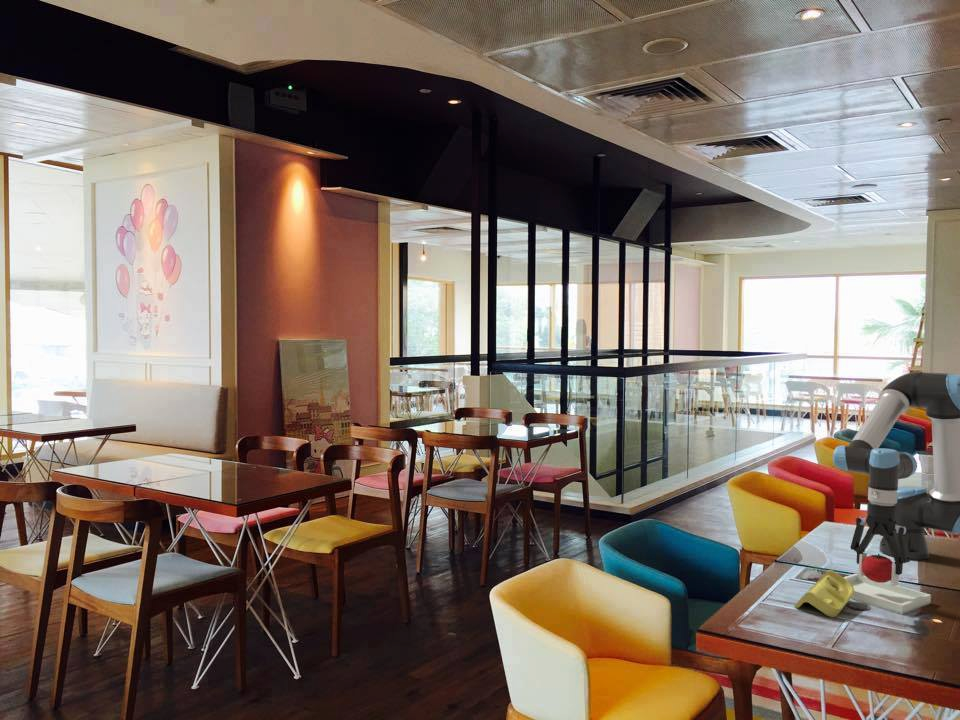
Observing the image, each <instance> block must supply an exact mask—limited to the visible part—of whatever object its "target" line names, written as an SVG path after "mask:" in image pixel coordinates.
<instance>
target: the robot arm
mask: <svg viewBox="0 0 960 720" xmlns="http://www.w3.org/2000/svg"><path fill="white" fill-rule="evenodd" d="M910 408H920V409H925V416H926V417H927V418H928V419H930V421H931V437H932V438H931V439H932V458H933V459H932V460H933V461H932V462H933V483H934V484H933V486H934V487H933V488H931V489H930V490H929V493H928V490H927V488H926V487H923V486H913V485H912V486H911V485H910V486H909V485H908V486H907V485H906V486H905V485H904V486H899V480H901V479H907V478H909V477H911V476H912V475H914V474H915V473H916V471H917V469H918V462H917V459H916V458H915V457H914V455H912V454H911V453H909V452H905V451H898V450H896V449H893V448H884V447H883V448H882V447H880V446H881V445H882V443H883V442H884V440H885V438H887V436H888V434H889V433H890V431H891V429H892V428H893V427H894V425H895V423H896V422H897V421H898V420H899V417H900V416H901V414H904V413H906V412H907V411H908V410H909V409H910ZM832 463H833V466H834V467H835V468H836V469H839V470H843V471H846V472H851V473H860V474H866V475H868V493H867V500H868V502H867V507H866V508H867V509H866V514H867V516H866V517H864V516H860V517H857V518H855V529H854V533H853V537H852V540H851V544H850V547H849V548H850V550H851V551H852V550H853V551H854V552H856V564H857V565H858V574H859V576H860V577H862V576H865V575H864V573H863V571H862V563H863V561H864V559H865V558H866V557H868V553H866V550H867V547H868V546H869V545H870V543H871V541H872V539H874V537H875V535H878V536H881V537H882V538H881V540H880V543H879V552H880V553H882V554H884V555H886V556H890V557H893V559H894V561H892V562H893V563H892V576H891V580H890V581H891V582H890V583H891V586H896V585H898V586H900V585H899V583H900V582H899V580H900V575H903V565H904V564H906V563H909V562H911V560H915V561H920V560H926V559H929V558H930V549H929V545H928V541H927V539H926V538H927V537H926V535H925V530H926V529H930V530H935V531H939V532H946V533H950V534H952V535H954V534H955V535H960V374H955V373H946V372H945V373H943V372H941V373H939V372H922V371H912V372H907V373H905V374H902V375H900V376H899V377H896V378H895V379H893V380H892V381H890V382H888V383H887V385H885V386H884V388H882V390H881V391H880V393H879V395H878V402H877V403H876V404H875V406H874V408H873V409H872V410H871V411H870V413H869V415H868V416H867V417H866V419H865V421H864V422H863V423H862V424H861V427H860V428H859V429H858V431H857V432H856V433H855V435H854V437H853V438H852V440H851V441H850V442H849V444H848V445H847V444H845V445H844V444H843V445H838V446H836V447H835V449H834V451H833V455H832ZM866 525H867V527H868V529H867V531H866V532H865V535H864V537H863V538H862V536H863V534H864V533H863V532H864V530H865V526H866Z"/></svg>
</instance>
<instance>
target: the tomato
mask: <svg viewBox="0 0 960 720" xmlns="http://www.w3.org/2000/svg"><path fill="white" fill-rule="evenodd" d="M893 562H894V561H892V560H891V559H890V558H888V557H886V556H884V555H881V554H880V553H877V554H869V555H867V557H866V558H865V559H864V561H863V563H862V571H863V573H864V575H865V576H866V577H867V578H868V579H870V580H872V581H874V582H878V583H884V582H888V583H889V581H891V576H892V563H893Z"/></svg>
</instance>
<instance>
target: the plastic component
mask: <svg viewBox="0 0 960 720" xmlns="http://www.w3.org/2000/svg"><path fill="white" fill-rule="evenodd" d="M853 593H854V588H853V586H852V585H851V584H850V583H849V582H848V581H847V580H846V579H845V578H843V576H842V575H840V574H839V573H837V572H836V571H834V570H832V569H829V570H826V572H825V573H824V574H823V575H822V576H821V577H820V578H819V579H818V580H817V581H816V583H814V585H813V586H812V587H810V589H809V590H808V591H806V592H805V594H803V595H802V597H800V599H799V600H798V601H797V602H796V603H795V604H794V608H796V609H799V608H800V607H801V606H803V604H804V603H807V604H808V603H809V604H810V605H811V606H813V607H814V608H816V609H817V610H819V611H820V612H821V613H823V614H824V615H825V616H828V617H830V618H835V617H838V615H839V614H840V613H841V611H842V610H843V609H844V608H845V606H846V605H847V604H848V602H849V601H850V600H851V599H850V598H851V597H852V595H853Z"/></svg>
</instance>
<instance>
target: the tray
mask: <svg viewBox="0 0 960 720" xmlns="http://www.w3.org/2000/svg"><path fill="white" fill-rule="evenodd" d="M842 577H843V576H842ZM843 578H845V579H846V580H847V581H848V582H849V583H850V584H851V585H852V586H853V588H854V593H853V595H852V597H851V599H850V600H854V599H855V600H854V601H857V600H858V601H857V602H860V603H863V604H867V605H869V606H873V607H877V608H879V609H884V610H886V611H889V612H891V613H892V612H893V613H895V614H899V615H905V614H908V613H910V612H912V611H915V610H918V609H920V608H923V607H926V606H928V605H930V604H931V599H932V595H931V594H929V593H926V592H922V591H919V590H915V589H912V588H908V587H905V586H901V585H896V586H891V582H889V581H888V582H884V583H878V582H874V581H872V580H870V579H868V578H867V577H866V576H862V577H860V576H859V573H854V574H850V575H847V576H844V577H843Z"/></svg>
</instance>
